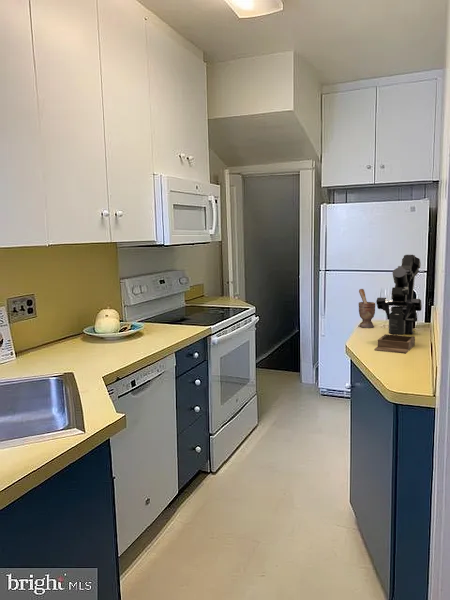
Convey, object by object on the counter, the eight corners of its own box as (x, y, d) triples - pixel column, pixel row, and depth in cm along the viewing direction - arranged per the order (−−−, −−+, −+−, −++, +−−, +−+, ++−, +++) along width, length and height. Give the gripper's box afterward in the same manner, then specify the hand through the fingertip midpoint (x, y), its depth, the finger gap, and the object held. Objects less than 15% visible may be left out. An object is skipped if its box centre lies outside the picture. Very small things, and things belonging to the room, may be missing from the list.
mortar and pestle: (350, 325, 262) (351, 289, 259) (362, 323, 266) (362, 288, 264) (367, 329, 252) (367, 291, 250) (378, 326, 257) (379, 289, 254)
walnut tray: (385, 341, 222) (385, 334, 222) (414, 344, 216) (414, 336, 215) (374, 350, 207) (374, 342, 207) (405, 353, 200) (406, 345, 200)
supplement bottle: (408, 334, 210) (408, 307, 209) (394, 335, 209) (394, 308, 207) (398, 331, 217) (399, 305, 215) (385, 332, 215) (385, 306, 214)
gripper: (377, 279, 217) (371, 307, 209) (421, 280, 209) (417, 309, 201) (380, 294, 225) (375, 322, 217) (423, 296, 217) (419, 324, 209)
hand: (396, 319), depth 211 cm, fingers closed on supplement bottle, 7 cm apart
